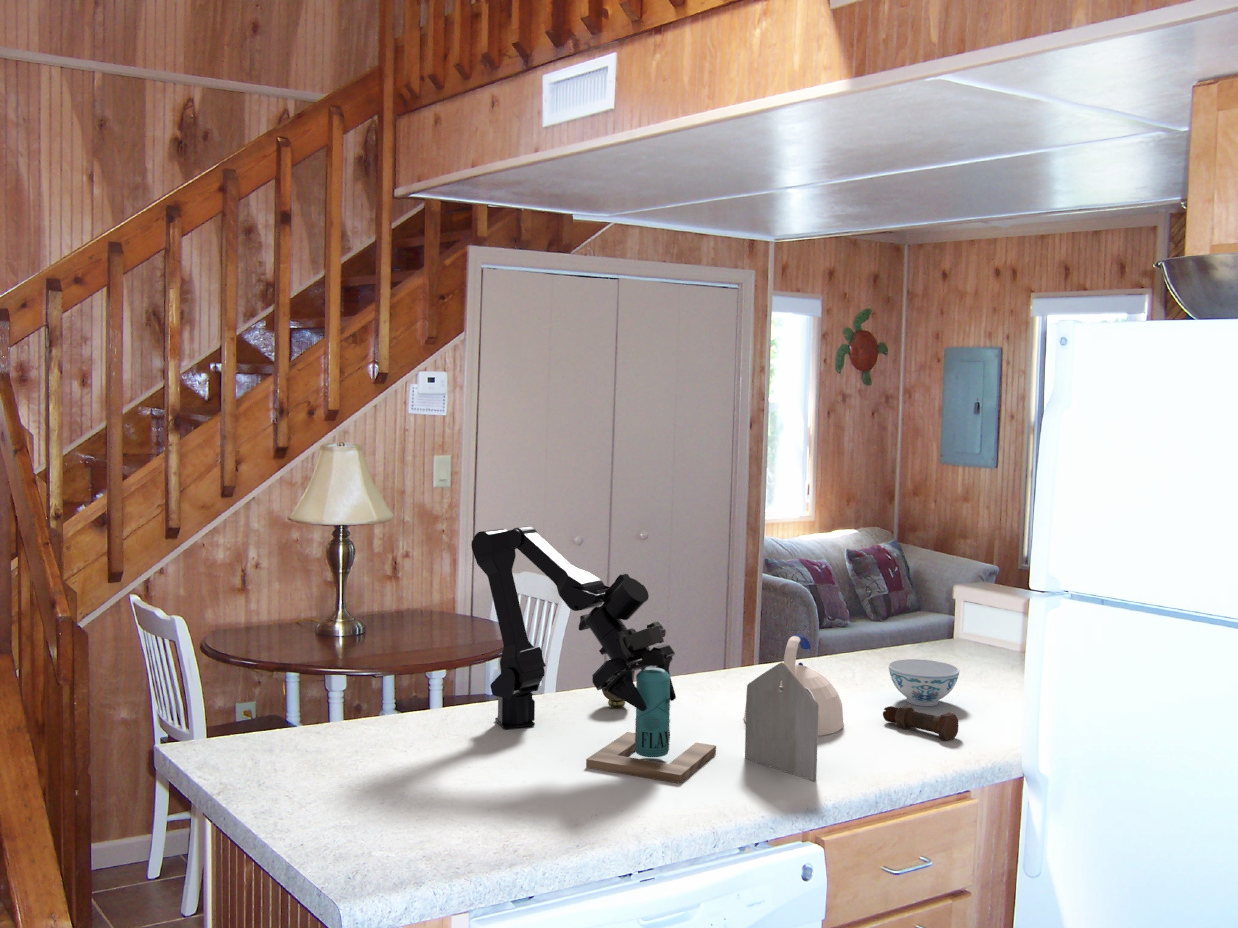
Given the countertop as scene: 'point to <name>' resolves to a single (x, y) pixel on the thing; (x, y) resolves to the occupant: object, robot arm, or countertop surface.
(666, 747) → the beverage bottle
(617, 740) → the notched board
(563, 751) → the countertop surface
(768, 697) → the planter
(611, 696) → the cup
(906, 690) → the chinaware
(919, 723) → the bolt
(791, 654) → the kettle
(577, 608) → the robot arm
